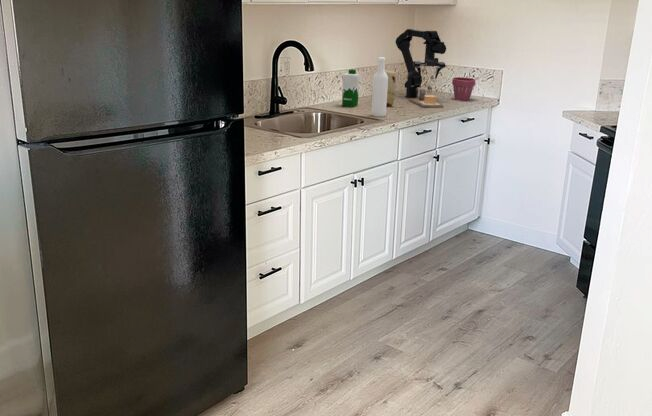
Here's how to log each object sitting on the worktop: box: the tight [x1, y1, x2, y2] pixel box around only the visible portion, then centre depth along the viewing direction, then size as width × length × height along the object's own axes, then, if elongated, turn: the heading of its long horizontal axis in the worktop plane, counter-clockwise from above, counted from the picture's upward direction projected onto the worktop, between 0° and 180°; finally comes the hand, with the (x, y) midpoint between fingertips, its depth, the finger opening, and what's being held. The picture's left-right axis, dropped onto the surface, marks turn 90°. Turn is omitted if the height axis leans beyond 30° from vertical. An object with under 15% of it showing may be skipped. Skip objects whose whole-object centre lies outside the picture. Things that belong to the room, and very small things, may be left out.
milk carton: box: [341, 69, 360, 108], centre depth 354 cm, size 9×9×20 cm
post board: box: [408, 89, 444, 109], centre depth 368 cm, size 24×12×8 cm, turn 14°
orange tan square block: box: [424, 94, 437, 104], centre depth 363 cm, size 6×6×4 cm
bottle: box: [370, 56, 388, 118], centre depth 328 cm, size 8×8×30 cm
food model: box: [385, 70, 397, 107], centre depth 359 cm, size 10×7×20 cm
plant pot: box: [451, 76, 477, 101], centre depth 388 cm, size 14×14×13 cm
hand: (427, 79), depth 378 cm, fingers open, 9 cm apart
